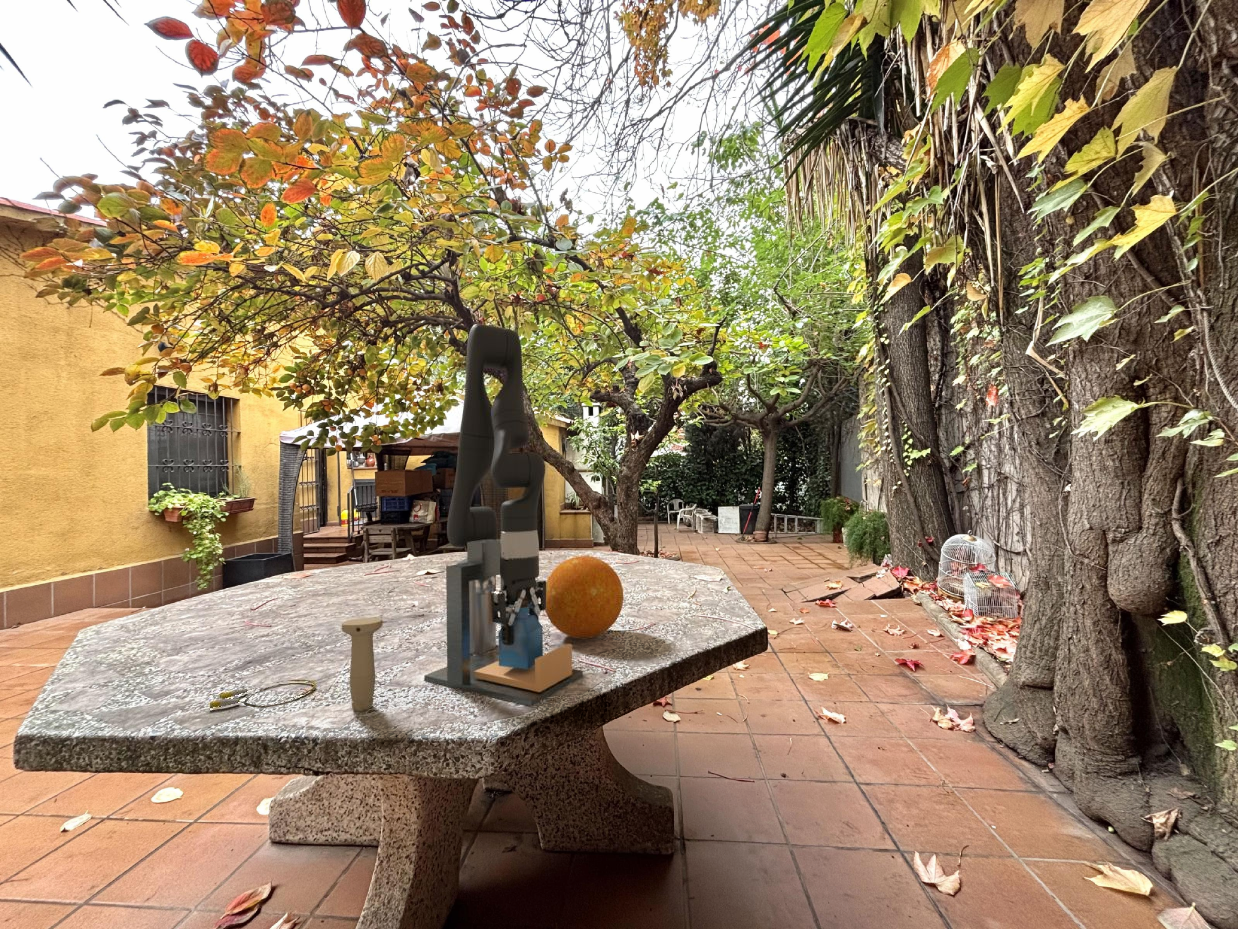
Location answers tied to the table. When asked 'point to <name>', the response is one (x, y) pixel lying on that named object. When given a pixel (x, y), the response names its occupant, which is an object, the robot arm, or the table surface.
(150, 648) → the table surface
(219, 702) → the jump rope
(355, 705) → the handle
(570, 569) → the decorative sphere
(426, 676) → the press frame
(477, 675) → the press bed carriage
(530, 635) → the perfume bottle
